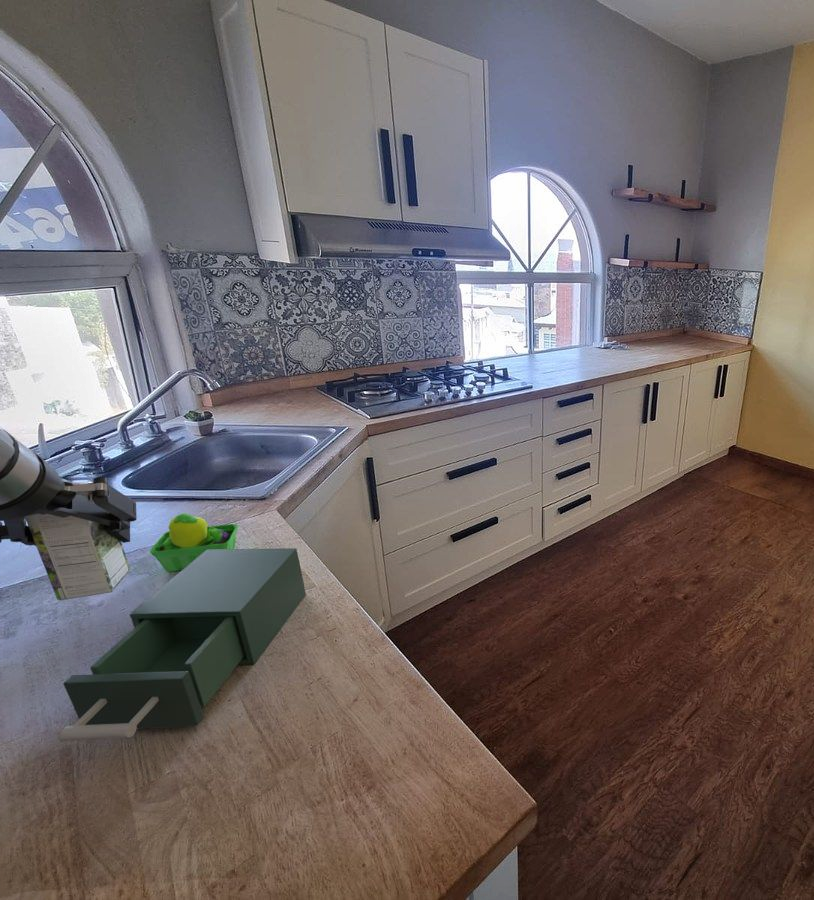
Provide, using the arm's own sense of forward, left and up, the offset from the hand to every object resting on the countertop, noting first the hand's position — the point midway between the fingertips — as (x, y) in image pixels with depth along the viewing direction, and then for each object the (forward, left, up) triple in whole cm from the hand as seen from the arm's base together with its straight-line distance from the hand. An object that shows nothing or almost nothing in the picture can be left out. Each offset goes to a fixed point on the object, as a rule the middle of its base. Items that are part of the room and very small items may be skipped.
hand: (93, 539), depth 70 cm
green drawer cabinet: (+16, -1, -15) cm, 22 cm away
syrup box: (+2, -3, -6) cm, 7 cm away
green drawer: (+16, -15, -14) cm, 26 cm away
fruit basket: (0, +17, -15) cm, 23 cm away
